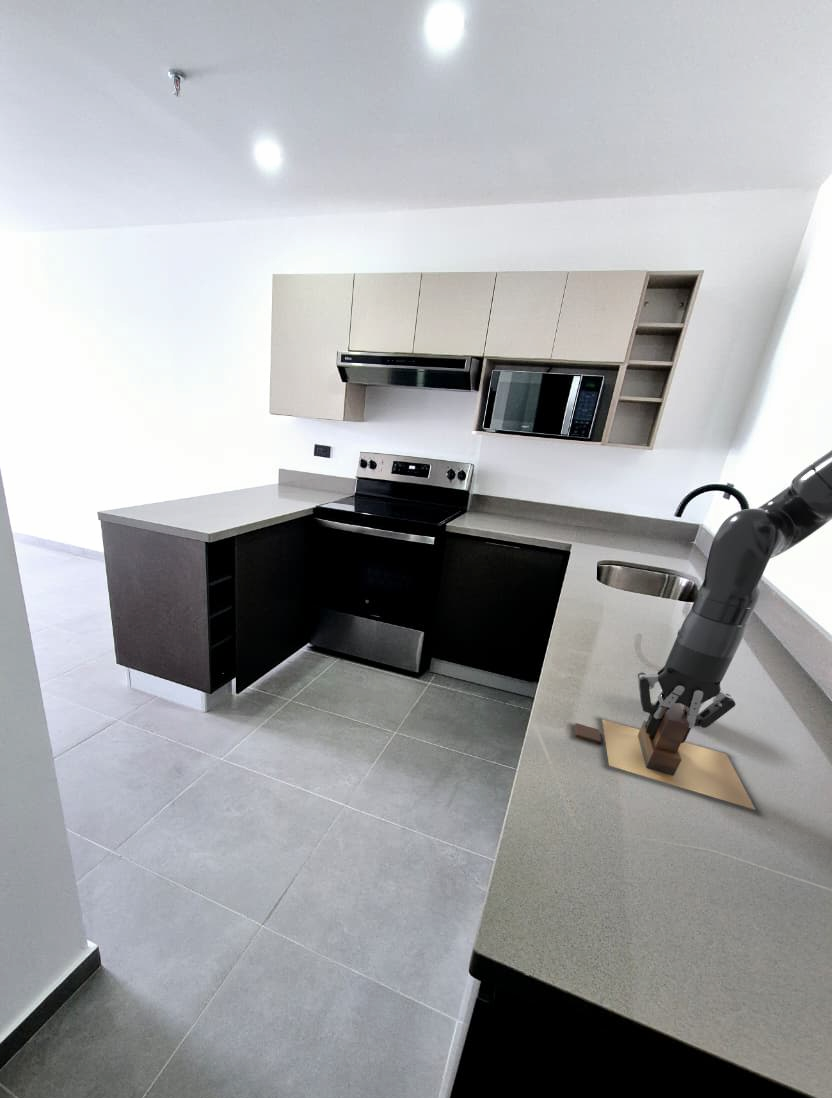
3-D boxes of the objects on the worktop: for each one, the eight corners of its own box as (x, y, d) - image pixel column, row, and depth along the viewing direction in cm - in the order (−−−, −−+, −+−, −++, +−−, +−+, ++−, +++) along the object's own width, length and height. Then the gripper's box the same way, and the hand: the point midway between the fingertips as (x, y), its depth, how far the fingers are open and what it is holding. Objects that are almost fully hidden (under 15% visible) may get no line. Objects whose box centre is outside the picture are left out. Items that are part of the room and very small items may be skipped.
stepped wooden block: (662, 742, 87) (681, 700, 83) (673, 776, 78) (695, 731, 75) (637, 735, 88) (655, 694, 85) (645, 767, 79) (666, 723, 76)
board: (723, 758, 86) (726, 753, 86) (752, 814, 74) (755, 809, 73) (600, 723, 92) (602, 719, 92) (607, 770, 79) (609, 765, 79)
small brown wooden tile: (596, 736, 88) (599, 729, 87) (598, 748, 84) (601, 741, 84) (572, 729, 89) (575, 722, 88) (573, 741, 86) (576, 734, 85)
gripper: (658, 641, 73) (618, 737, 80) (769, 666, 69) (717, 766, 77) (650, 624, 80) (613, 715, 87) (751, 647, 76) (704, 740, 83)
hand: (662, 738), depth 82 cm, fingers closed on stepped wooden block, 3 cm apart
